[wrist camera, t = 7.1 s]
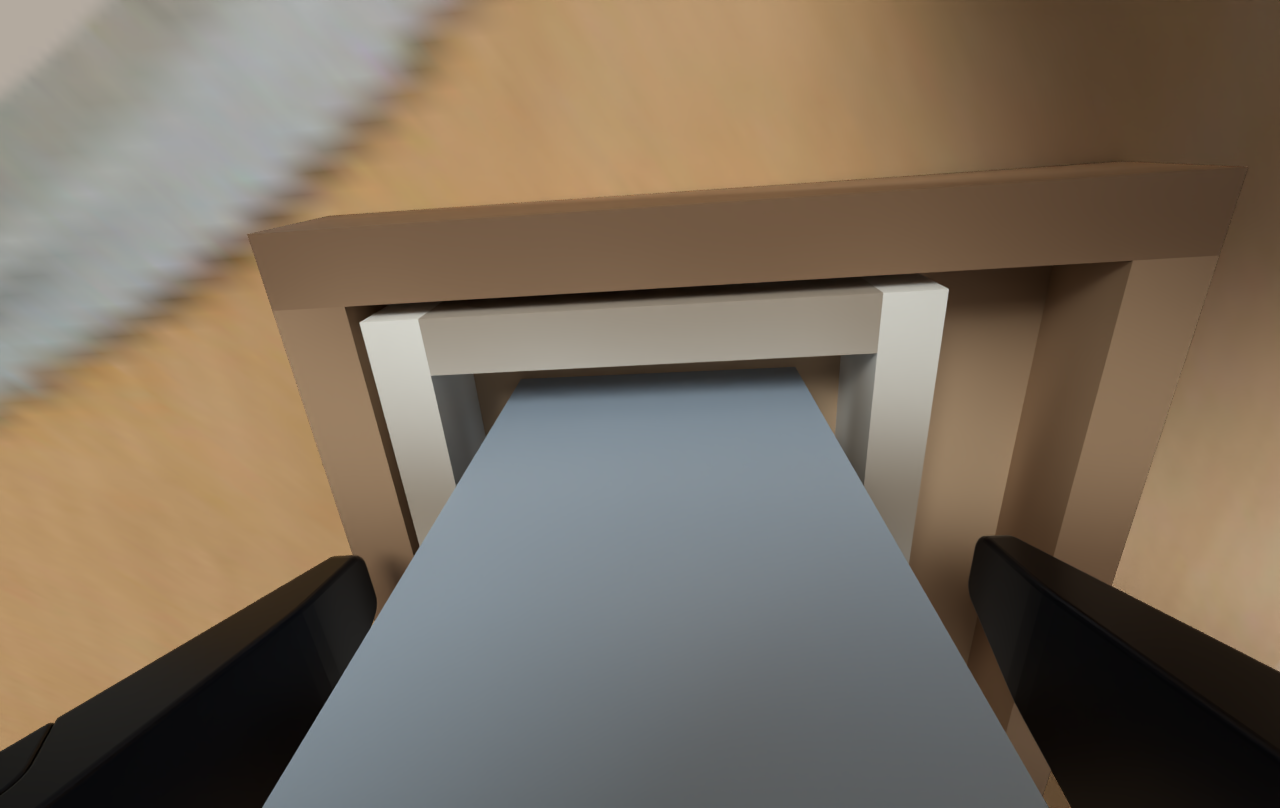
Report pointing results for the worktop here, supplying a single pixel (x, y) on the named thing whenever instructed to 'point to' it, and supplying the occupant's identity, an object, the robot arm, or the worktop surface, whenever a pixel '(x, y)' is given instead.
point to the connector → (658, 625)
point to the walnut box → (783, 344)
